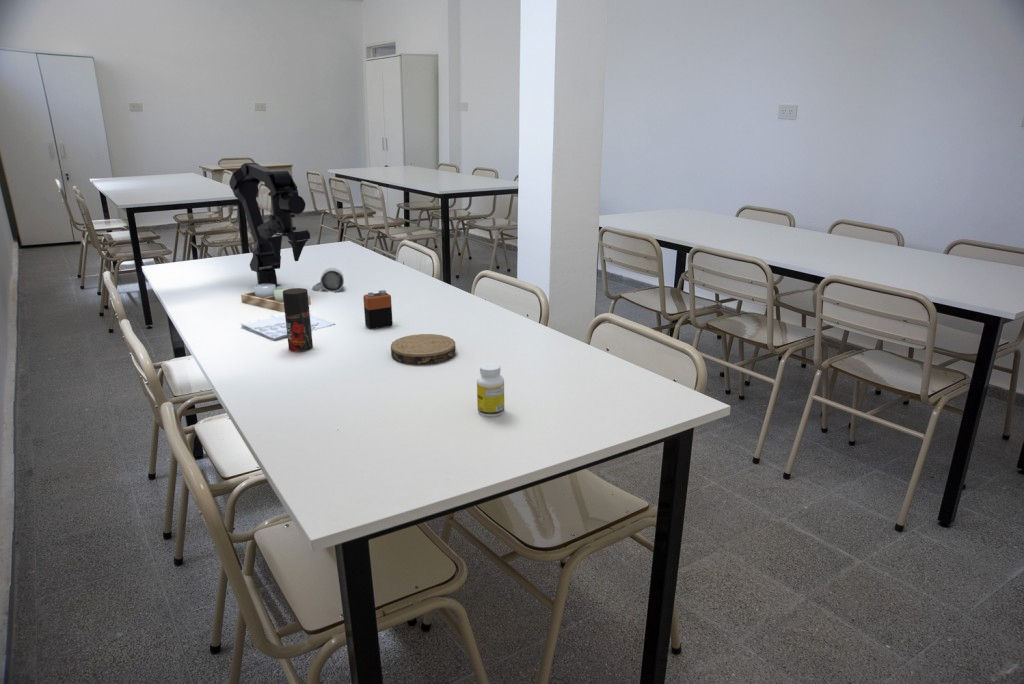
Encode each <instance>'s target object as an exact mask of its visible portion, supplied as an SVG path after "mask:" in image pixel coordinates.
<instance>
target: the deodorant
mask: <svg viewBox="0 0 1024 684" xmlns="http://www.w3.org/2000/svg"><path fill="white" fill-rule="evenodd" d="M292 288H293V289H287V290H284V291H283V301H284V310H285V312H284V316H285V319H286V328H287V337H286V338H287V344H288V350H289V351H290V352H293V353H297V352H298V353H302V352H307V351H310V350H312V349H313V348H314V344H313V331H312V332H311V322H310V315H311V313H310V305H309V302H308V296H309V295H308V289H307V288H304V287H303V288H301V287H296V288H295V287H292Z"/></svg>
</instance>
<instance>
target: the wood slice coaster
mask: <svg viewBox="0 0 1024 684" xmlns="http://www.w3.org/2000/svg"><path fill="white" fill-rule="evenodd" d="M456 349H457V348H456V341H455V340H454V339H453V338H451V337H450V336H447V335H443V334H434V333H421V334H420V333H419V334H412V335H411V334H410V335H405V336H403V337H399V338H397V339H395V340H394V341H392V342H391V344H390V354H391V355H390V356H391V358H392V360H393V361H396V362H397V363H400V364H403V365H412V366H428V365H437V364H441V363H445V362H447V361H449V360H451V359H454V357H455V355H456V353H457V352H456Z"/></svg>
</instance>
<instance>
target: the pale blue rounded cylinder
mask: <svg viewBox="0 0 1024 684" xmlns="http://www.w3.org/2000/svg"><path fill="white" fill-rule="evenodd" d="M276 287H277V286H275V284H270V283H267V284H258V283H257V284H255V285H254V286H253V290H254V291H255V297H259V298H266V297H270V296H274V289H277V288H276ZM254 291H253V292H254Z"/></svg>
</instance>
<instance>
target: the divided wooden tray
mask: <svg viewBox="0 0 1024 684" xmlns="http://www.w3.org/2000/svg"><path fill="white" fill-rule="evenodd" d="M240 298H241V303H243V304H247V305H251V306H256V307H259V308H264V309H268V310H272V311H276V312H280V313H281V312H282V313H285V310H284V303H282V302H277V301H275V297H274V296H270V297H266V298H259V297H255V291H250V292H247V293H242V294H240ZM308 302H309V306H310V305H311V304H312V303H311V296H309V295H308Z"/></svg>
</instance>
